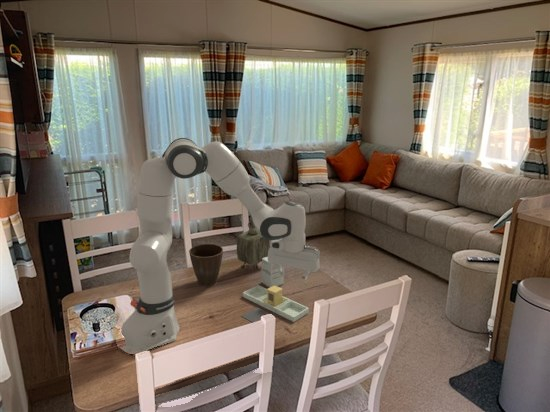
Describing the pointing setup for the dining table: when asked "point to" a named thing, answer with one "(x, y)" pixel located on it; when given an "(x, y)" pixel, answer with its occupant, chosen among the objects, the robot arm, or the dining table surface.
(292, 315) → the tray right
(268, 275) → the supplement box
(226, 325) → the dining table surface
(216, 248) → the plant pot
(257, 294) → the tray left
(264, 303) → the tray middle
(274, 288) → the letter block
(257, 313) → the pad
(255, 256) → the tabletop clock
